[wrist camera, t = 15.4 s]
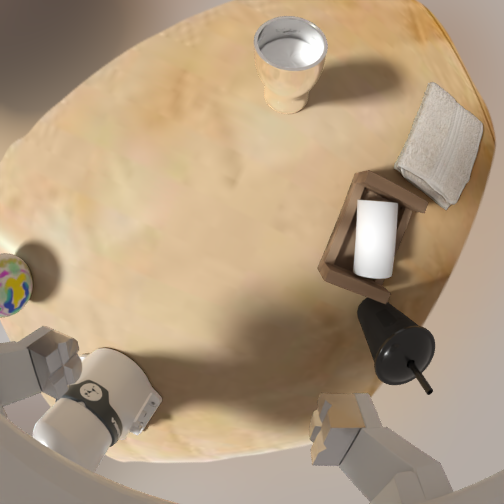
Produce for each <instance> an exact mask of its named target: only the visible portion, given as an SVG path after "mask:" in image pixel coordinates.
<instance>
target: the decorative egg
mask: <svg viewBox="0 0 504 504" xmlns="http://www.w3.org/2000/svg"><path fill="white" fill-rule="evenodd" d="M32 289H33V281H32V276H31V272H30V270H29V268H28V266H27V264H26V263H25V262H24V261H23V260H22V259H21V258H19V257H17V256H15V255H13V254H7V253H3V254H0V318H1V317H8V316H11V315H13V314H15V313H17V312H19V311H20V310H21V309H22V308H23V307H24V306H25V305H26V304H27V302H28V300H29V299H30V296H31V293H32Z"/></svg>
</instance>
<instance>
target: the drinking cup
mask: <svg viewBox="0 0 504 504" xmlns="http://www.w3.org/2000/svg"><path fill="white" fill-rule="evenodd" d="M357 315H358V319H359V321H360V324H361V327H362V329H363V332H364V335H365V337H366V340H367V343H368V345H369V348H370V351H371V354H372V357H373V360H374V362H375V363H374V368H375V372H376V375H377V376H378V378H379V379H380V380H381V381H382V382H384V383H386V384H389V385H401V384H404V383H407V382H409V381H411V380H413V379H415V378H417V380H418V381H419V382H420V384H421V386H422V387H423V388H424V390H425V392H426V393H427V394H428V395H430V394H431V393H432V392H433V389H432V388H431V386H430V385H429V384H428V382H427V381H426V379H425V378H424V376H423V375H422V372H423V371H424V370H425V369H426V368H427V366H428V365H429V364H430V362H431V360H432V358H433V355H434V351H435V340H434V337H433V335H432V334H431V333H430V331H429V330H427V329H426V328H424V327H421V326H418V325H417V324H416V323H414V322H413V321H412V320H411V319H409V318H408V317H407V316H405V315H404V314H403V313H401V312H400V311H399V310H397V309H396V308H395V307H393V306H392V305H391V304H389V303H388V302H387V303H386V304H384V303H381V302H378V301H376V300H373V299H371V298H366V299H365V300H363V301H362V303H361V304H360V305H359V308H358V311H357Z"/></svg>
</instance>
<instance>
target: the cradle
mask: <svg viewBox="0 0 504 504" xmlns="http://www.w3.org/2000/svg"><path fill="white" fill-rule="evenodd" d="M357 200H374V201H386V202H394V203H398V214H397V230H396V243H395V253H394V257H395V255H396V252H397V250H398V248H399V245H400V243H401V240H402V238H403V235H404V233H405V230H406V227H407V225H408V222H409V220H410V217H411V214H412V211H415V212H421V213H425V211H426V208H427V205H428V202H427V201H426V200H424V199H422V198H420V197H419V196H417V195H415V194H413V193H412V192H410V191H408V190H406V189H404V188H402V187H401V186H399V185H397V184H395V183H393V182H391V181H389V180H387V179H385V178H383V177H381V176H379V175H377V174H375V173H373V172H371V171H369V170H368V171H364V172H359V173H355V175H354V178H353V180H352V183H351V186H350V188H349V191H348V194H347V196H346V199H345V202H344V204H343V207H342V209H341V212H340V215H339V217H338V220H337V222H336V225H335V227H334V230H333V232H332V235H331V237H330V239H329V242H328V244H327V247H326V249H325V251H324V254H323V256H322V258H321V261H320V263H319V265H318V270H319V272H320V274H321V275H322V277H323V279H324V281H326V282H329V283H331V284H334V285H336V286H339V287H342V288H344V289H347V290H350V291H352V292H355V293H357V294H360V295H363V296H365V297H368V298H371V299H373V300H376V301H378V302H381V303H384V304H386V303H387V301H388V299H389V297H390V295H391V293H390V292H389V291H387V290H386V289H385V288H384V287H383V286H382V284H383V282H384V280H385V278H383V279H376V278H367V277H363V276H359V275H357V274H355V273H354V272H353V266H354V254H355V241H356V224H357Z"/></svg>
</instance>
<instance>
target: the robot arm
mask: <svg viewBox="0 0 504 504" xmlns="http://www.w3.org/2000/svg"><path fill="white" fill-rule="evenodd" d="M78 351H79V346H78V341H76V340H75V339H74V338H72V337H70V336H67V335H65V334H63V333H61V332H58V331H56V330H54V329H51V328H49V327H47V326H42V327H40V328H39V329H37V330H36V331H34V332H33V333H31V334H29V335H28V336H26V337H25V338H23V339H22V340H20V341H19V342H15V341H13V342H7V343H0V504H178V503H175V502H171V501H168V500H164V499H160V498H158V497H154V496H151V495H148V494H145V493H142V492H140V491H136V490H134V489H131V488H129V487H126V486H124V485H121V484H119V483H116V482H114V481H112V480H109V479H107V478H105V477H102V476H100V475H98V474H96V473H95V471H96V469H97V467H98V465H99V464H100V462H101V460H102V458H103V456H104V455H105V453H106V452H107V450H108V448H109V447H111V446H113V445H114V444H115V443H116V442H117V441H118V439H119V440H124V439H126V438H127V436H128V435H129V433H130V432H132V433H134V434H136V435H138V434H139V433H141V432H142V431H143V429H144V428H145V426H146V425H147V423H148V422H149V420H150V419H151V417H152V416H153V414H154V413H155V411H156V410H157V408H158V406H159V405H160V403H161V402H162V398H161V396H160V395H159V394H158V393H157V392H156V391H155V390H154V389H153V388H152V386H151V384H150V382H149V380H148V378H147V376H146V375H145V373H144V372H143V371H142V369H141V368H140V367H139V366H138V365H137V364H136V363H135V362H134V361H132V360H131V359H130V358H129V357H127V356H125V355H124V354H122V353H120V352H118V351H115V350H112V349H108V348H100V349H97V350H95V351H93V352H92V353H91V354H82V355H80V357H79V356H78V354H77V353H78ZM41 391H42V392H44V393H46V394H48V395H50V396H52V397H53V398H55V399H56V403H55V404H54V405H53V406H52V407H51V408H50V409H49V410H48V411H47V412H46V413H45V414H44V415H43V416H42V418H40V419H39V420H38V422H37V423H36V424H35V427H34V430H33V437H31V436H30V435H29V434H27V433H26V432H25V431H23V430H22V429H20V428H19V427H18V426H16V425H15V424H14V423H12V422H11V421H10V420H9V419H7V414H6V412H5V410H4V408H3V406H6V405H9V404H11V403H14V402H17V401H20V400H23V399H25V398H28V397H31V396H33V395H36V394H39V393H41ZM317 405H318V409H317V410H316V411H314V412H313V415H312V417H311V421H310V427H309V437H310V440H311V441H312V442H313V445H312V448H311V458H312V465H319V466H320V465H321V466H323V465H324V466H339V468H340V469H341V470H342V471H343V472H344V473H345V474H346V476H347V477H348V478H349V479H350V480H351V481H352V482H353V484H354V485H355V486H356V487H357V488H358V489H359V490H360V491H361V492H362V493H363V495H364V496H365V497H366V498H367V499H368V500H369V501H370V503H369V504H504V470H502V471H500V472H498V473H496V474H494V475H492V476H490V477H488V478H486V479H484V480H481V481H479V482H477V483H475V484H472V485H470V486H468V487H465V488H463V489H460V490H458V491H455V492H453V490H452V487H451V485H450V483H449V481H448V479H447V476H446V475H445V472H444V470H443V468H442V465H441V463H440V462H438V461H436V460H435V459H433V458H432V457H430V456H429V455H427V454H426V453H424V452H423V451H421V450H420V449H418V448H417V447H415V446H414V445H412V444H411V443H409V442H408V441H406V440H405V439H403V438H402V437H401V436H399V435H398V434H396V433H395V432H393V431H392V430H391V429H389V428H388V427H383V426H382V424H381V421H380V419H379V417H378V414H377V412H376V409H375V407H374V404H373V402H372V399H371V397H370V395H369V394H368V393H352V394H345V393H321V394H320V396H319V398H318V401H317Z"/></svg>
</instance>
